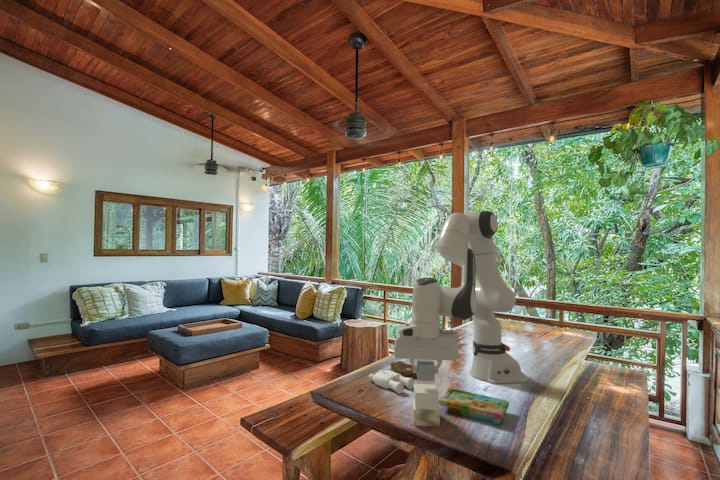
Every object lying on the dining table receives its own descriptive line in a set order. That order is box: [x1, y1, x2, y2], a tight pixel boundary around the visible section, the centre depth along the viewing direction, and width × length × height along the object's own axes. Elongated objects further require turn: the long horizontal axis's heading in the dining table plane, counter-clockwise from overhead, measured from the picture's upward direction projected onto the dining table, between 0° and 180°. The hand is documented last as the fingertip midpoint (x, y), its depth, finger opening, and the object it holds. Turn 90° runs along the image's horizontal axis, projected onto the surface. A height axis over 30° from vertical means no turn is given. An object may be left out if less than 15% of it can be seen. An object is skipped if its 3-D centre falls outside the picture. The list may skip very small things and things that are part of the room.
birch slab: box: [411, 397, 441, 428], centre depth 110 cm, size 8×8×5 cm
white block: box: [413, 383, 439, 410], centre depth 110 cm, size 7×7×5 cm
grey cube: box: [416, 359, 436, 382], centre depth 110 cm, size 5×5×5 cm
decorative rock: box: [390, 360, 418, 380], centre depth 150 cm, size 11×4×15 cm
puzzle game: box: [438, 387, 510, 426], centre depth 116 cm, size 12×5×20 cm
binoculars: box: [368, 369, 415, 395], centre depth 137 cm, size 10×16×5 cm, turn 44°
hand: (425, 372), depth 111 cm, fingers closed on grey cube, 5 cm apart
